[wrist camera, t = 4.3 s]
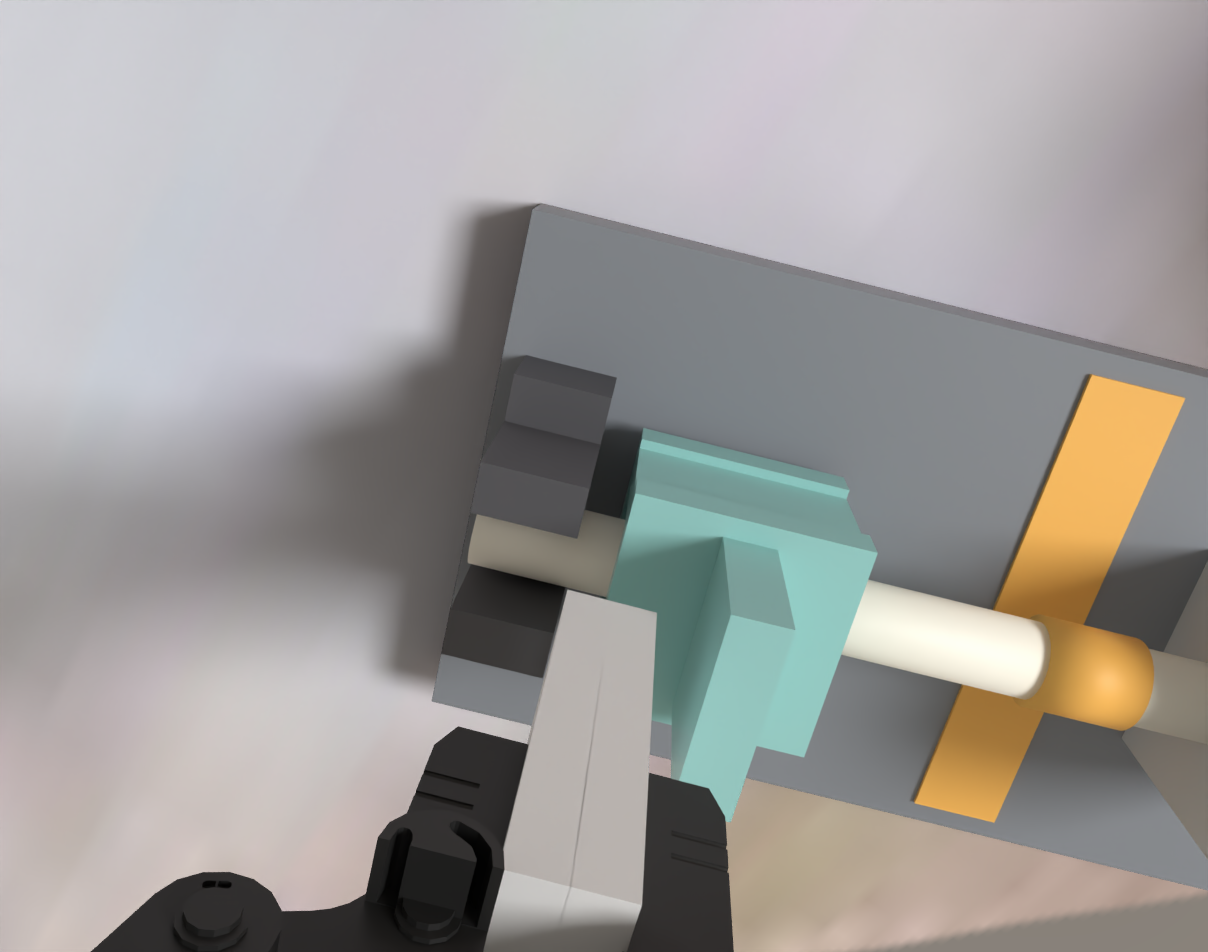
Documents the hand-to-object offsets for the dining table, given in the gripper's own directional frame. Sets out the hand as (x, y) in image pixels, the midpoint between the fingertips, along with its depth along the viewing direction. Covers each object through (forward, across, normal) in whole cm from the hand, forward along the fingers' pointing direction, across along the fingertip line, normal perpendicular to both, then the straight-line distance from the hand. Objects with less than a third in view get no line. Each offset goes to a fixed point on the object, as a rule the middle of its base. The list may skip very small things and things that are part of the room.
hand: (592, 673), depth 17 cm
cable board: (+8, +7, 0) cm, 11 cm away
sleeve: (+6, +2, 0) cm, 7 cm away
